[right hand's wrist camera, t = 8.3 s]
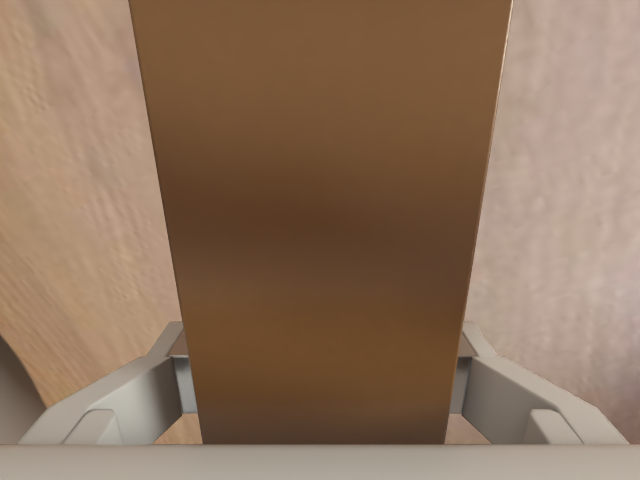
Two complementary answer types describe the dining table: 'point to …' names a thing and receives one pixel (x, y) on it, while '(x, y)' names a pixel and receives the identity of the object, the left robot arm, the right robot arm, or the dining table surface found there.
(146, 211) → the dining table surface
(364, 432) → the post
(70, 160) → the dining table surface
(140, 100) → the dining table surface
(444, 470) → the right robot arm
